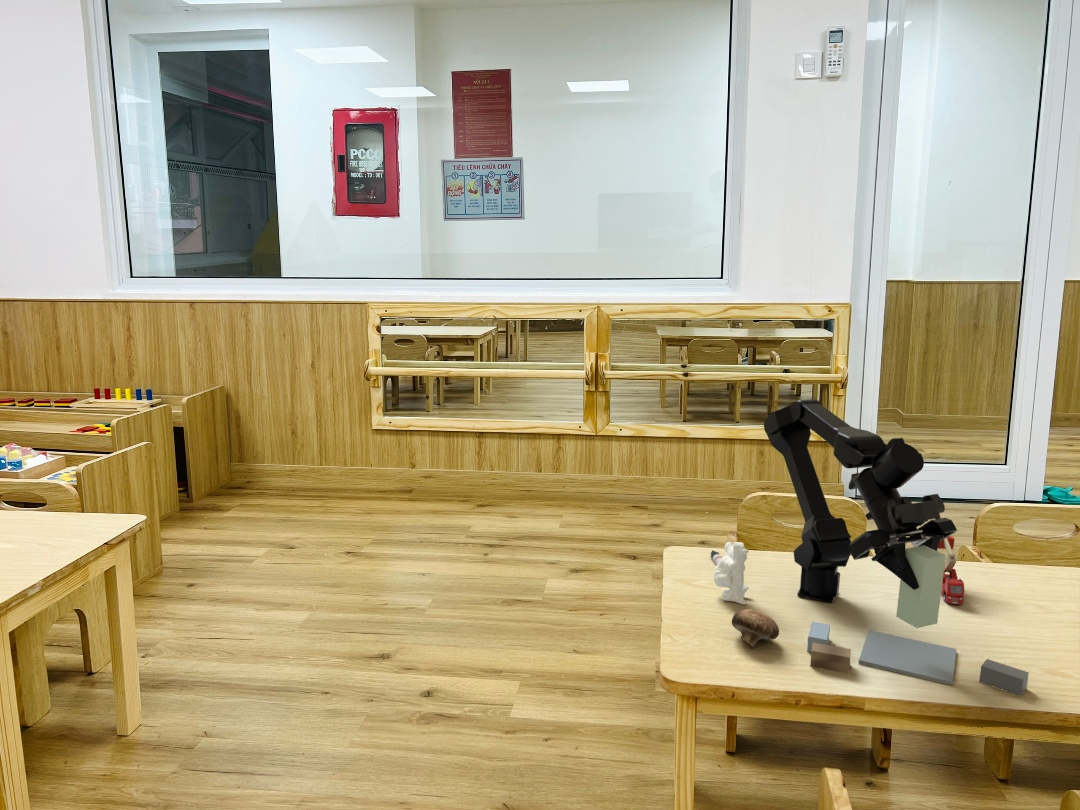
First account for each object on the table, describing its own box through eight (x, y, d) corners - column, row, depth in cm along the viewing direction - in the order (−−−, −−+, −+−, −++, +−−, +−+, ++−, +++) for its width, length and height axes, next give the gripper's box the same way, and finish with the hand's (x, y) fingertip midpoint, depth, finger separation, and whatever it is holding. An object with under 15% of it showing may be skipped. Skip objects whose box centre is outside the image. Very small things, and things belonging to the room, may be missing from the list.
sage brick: (896, 616, 142) (904, 549, 139) (916, 612, 143) (924, 545, 141) (917, 628, 138) (925, 559, 135) (937, 623, 139) (945, 555, 137)
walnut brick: (810, 667, 139) (811, 650, 138) (811, 658, 142) (812, 642, 141) (848, 674, 137) (850, 657, 136) (849, 665, 140) (850, 648, 139)
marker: (737, 585, 170) (738, 575, 170) (728, 585, 170) (728, 576, 170) (716, 555, 185) (716, 546, 185) (707, 555, 185) (707, 547, 185)
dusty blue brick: (825, 656, 143) (826, 639, 142) (806, 652, 144) (808, 636, 143) (828, 640, 148) (830, 624, 147) (810, 637, 149) (812, 621, 149)
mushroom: (746, 641, 140) (755, 604, 143) (717, 638, 147) (725, 603, 150) (783, 657, 143) (791, 621, 145) (752, 653, 150) (760, 619, 152)
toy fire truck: (945, 605, 162) (951, 557, 160) (928, 576, 175) (933, 532, 173) (964, 607, 161) (970, 559, 159) (946, 577, 174) (951, 533, 172)
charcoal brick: (979, 682, 135) (981, 665, 134) (984, 675, 137) (987, 658, 136) (1020, 697, 131) (1023, 679, 130) (1026, 689, 133) (1028, 672, 132)
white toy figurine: (757, 607, 160) (761, 547, 157) (722, 608, 159) (726, 548, 157) (742, 588, 168) (745, 531, 166) (708, 589, 167) (712, 532, 165)
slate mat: (858, 663, 140) (858, 659, 140) (868, 632, 150) (868, 629, 150) (952, 685, 134) (952, 681, 134) (956, 652, 144) (956, 648, 144)
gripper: (869, 484, 135) (916, 576, 128) (954, 472, 143) (1004, 558, 135) (830, 515, 144) (872, 602, 137) (912, 502, 151) (956, 584, 144)
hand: (927, 586), depth 138 cm, fingers closed on sage brick, 4 cm apart
